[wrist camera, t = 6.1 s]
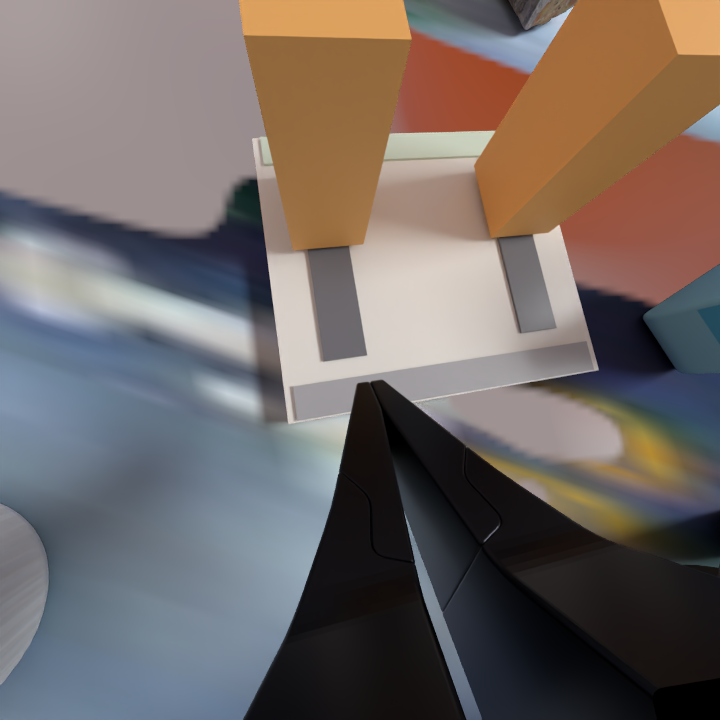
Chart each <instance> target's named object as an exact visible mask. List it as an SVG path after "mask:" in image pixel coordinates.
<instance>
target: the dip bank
mask: <svg viewBox="0 0 720 720" xmlns="http://www.w3.org/2000/svg"><path fill="white" fill-rule="evenodd" d="M494 133H495V131H474V132H437V133H436V132H434V133H397V134H389V138H388V142H387V147H386V151H385V155H384V159H383V163H382V168H381V172H380V176H379V180H378V185H377V189H376V193H375V197H374V202H373V206H372V210H371V214H370V219H369V223H368V227H367V231H366V236H365V240H364V244H362V245H350V246H339V247H327V248H315V249H303V250H293V249H292V244H291V240H290V236H289V231H288V227H287V222H286V218H285V214H284V209H283V205H282V201H281V196H280V192H279V188H278V183H277V179H276V175H275V170H274V166H273V161H272V157H271V153H270V148H269V144H268V140H267V137H260V138H252V142H253V150H254V158H255V165H256V173H257V181H258V189H259V197H260V205H261V213H262V221H263V228H264V236H265V244H266V252H267V260H268V268H269V275H270V283H271V291H272V299H273V307H274V315H275V323H276V330H277V338H278V346H279V354H280V362H281V370H282V378H283V385H284V393H285V401H286V409H287V417H288V424H292V423H298V422H304V421H310V420H315V419H321V418H327V417H333V416H338V415H344V414H350V413H351V409H352V404H353V399H354V394H355V389H356V385H357V383H361V382H367V381H368V382H371V381H373V380H380V379H382V380H384V381H386V382H387V383H388V384H389V385H391V386H392V387H393V388H394V389H396V390H397V391H398V392H399V393H401V394H402V395H403V396H404V397H406V398H407V399H408V400H409V401H411V402H412V403H413V402H419V401H425V400H430V399H436V398H442V397H448V396H453V395H459V394H465V393H470V392H476V391H482V390H488V389H494V388H499V387H505V386H511V385H517V384H522V383H528V382H534V381H540V380H545V379H551V378H557V377H563V376H568V375H574V374H580V373H586V372H591V371H597V370H599V369H598V365H597V361H596V358H595V354H594V350H593V347H592V343H591V339H590V336H589V332H588V328H587V325H586V321H585V317H584V314H583V310H582V306H581V303H580V299H579V295H578V292H577V288H576V284H575V281H574V277H573V273H572V270H571V266H570V262H569V259H568V255H567V251H566V248H565V244H564V240H563V237H562V233H561V230H560V226H559V225H558V226H557V227H555V228H554V229H553V230H551V231H550V232H549V233H542V234H530V235H519V236H507V237H496V238H491V236H490V231H489V227H488V223H487V219H486V215H485V210H484V206H483V202H482V198H481V193H480V189H479V185H478V181H477V177H476V172H475V168H474V165H475V163H476V161H477V160H478V158H479V157H480V155H481V153H482V152H483V150H484V149H485V147H486V145H487V144H488V142H489V141H490V139H491V138H492V136H493V134H494Z"/></svg>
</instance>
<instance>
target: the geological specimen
mask: <svg viewBox="0 0 720 720" xmlns="http://www.w3.org/2000/svg"><path fill="white" fill-rule="evenodd" d="M509 1H510V4H511V6H512V8H513V9H514V11H515V13H516V14H517V15H518V17H519V19H520V22H521V25H522V26H523V27H524V29H525V30H528V29H530V28H531V27H532V26H535V25H537V24H538V25H543V24H545V23H547V22H548V21H550V20H551V18H554V17H556V16H558V15H560V14H562V13H564V12H566V11H567V10H568V9H570V8H572V7H573V6H575V4H576V3H577V1H578V0H509Z"/></svg>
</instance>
